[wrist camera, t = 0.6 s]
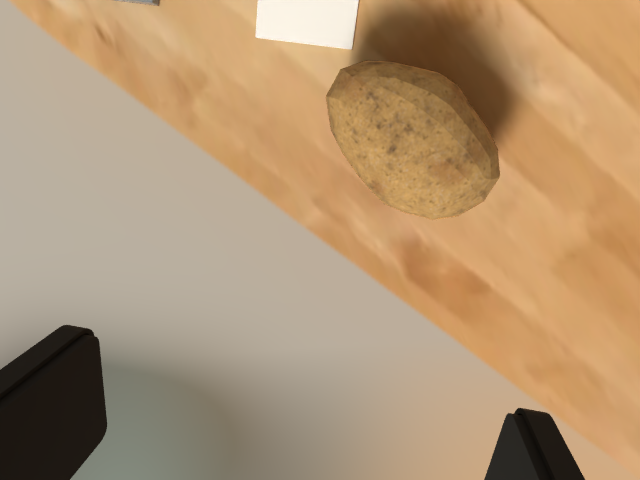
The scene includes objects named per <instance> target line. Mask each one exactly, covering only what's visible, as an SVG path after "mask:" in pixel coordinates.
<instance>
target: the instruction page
mask: <svg viewBox="0 0 640 480" xmlns="http://www.w3.org/2000/svg"><path fill="white" fill-rule="evenodd" d="M358 3H359V0H258V7H257V23H256V38H262V39H270V40H279V41H287V42H295V43H303V44H311V45H319V46H327V47H335V48H343V49H351V50H352V46H353V39H354V31H355V24H356V17H357V10H358Z"/></svg>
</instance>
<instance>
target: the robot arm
mask: <svg viewBox="0 0 640 480" xmlns="http://www.w3.org/2000/svg"><path fill="white" fill-rule="evenodd" d="M105 409H106V408H105V398H104V387H103V377H102V367H101V357H100V346H99V340H98V338H97V337H95V336H94V333H93V332H92V330H90V329H87V328H82V327H76V326H71V325H63V326H61V327H59V328H58V329H57V330H55V331H54V332H52V333H51V334H50V335H48V336H47V337H46V338H44V339H43V340H41V341H40V342H38V343H37V344H36V345H34V346H33V347H31V348H30V349H29V350H27V351H26V352H25V353H23V354H22V355H20V356H19V357H17V358H16V359H15V360H13V361H12V362H10V363H9V364H8V365H6V366H5V367H3V368H2V369H1V370H0V480H70V479H71V477H72V476H73V475H74V474H75V473H76V471H77V470H78V469H79V468H80V466H81V465H82V464H83V463H84V461H85V460H86V459H87V458H88V457H89V455H90V454H91V453H92V452H93V451H94V449H95V448H96V447H97V446H98V444H99V443H100V442H101V440H102V439H103V437H104V435H105V432H106V429H107V418H106V410H105ZM484 480H585V479H584V477H583V475H582V473H581V472H580V469H579V467H578V465H577V464H576V462H575V460H574V458H573V456H572V454H571V452H570V451H569V449H568V447H567V445H566V443H565V441H564V439H563V437H562V435H561V434H560V432H559V430H558V428H557V426H556V424H555V422H554V420H553V419H552V417H551V416H550V414H548V413H545V412H540V411H534V410H529V409H523V408H518V409H517V410H516V411H515V413H514V414H511V413H509V414H507V416H506V418H505V420H504V423H503V426H502V429H501V432H500V435H499V438H498V441H497V444H496V447H495V450H494V453H493V456H492V459H491V462H490V465H489V468H488V471H487V474H486V477H485V479H484Z"/></svg>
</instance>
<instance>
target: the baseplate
mask: <svg viewBox="0 0 640 480" xmlns="http://www.w3.org/2000/svg"><path fill="white" fill-rule="evenodd" d="M115 1H124V2H132V3H140V4H149V5H157V6H159V0H115Z"/></svg>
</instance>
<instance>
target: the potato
mask: <svg viewBox="0 0 640 480" xmlns="http://www.w3.org/2000/svg"><path fill="white" fill-rule="evenodd" d="M326 101H327V107H328V114H329V120H330V127H331V131H332V133H333V135H334V137H335V139H336V141H337V143H338V145H339V147H340V149H341V151H342V153H343V155H344V156H345V157H346V159H347V160H348V162H349V163H350V164H351V166H352V167H353V169H354V170H355V172H356V173H357V174H358V176H359V177H360V178H361V179H362V181H363V182H364V183H365V184H366V185H367V187H368V188H369V189H370V190H371V191H372V192H373V193H374V194H375V195H376V196H377V197H378V198H379V199H380V200H381V201H382V202H383V203H384V204H386V205H388V206H390V207H393V208H395V209H397V210H400V211H402V212H404V213H408V214H412V215H416V216H421V217H425V218H428V219H431V220H435V219H442V218H449V217H456V216H459V215H461V214H462V213H464V212H466V211H468V210H469V209H471V208H473V207H475V206H476V205H478V204H480V203H481V202H483V201H484V200H485V199H486V197H487V195H488V194H489V192H490V191H491V189H492V188H493V186H494V185H495V183H496V182H497V180H498V179H499V176H500V170H499V159H498V149H497V147H496V145H495V143H494V141H493V139H492V137H491V135H490V133H489V131H488V129H487V127H486V126H485V124H484V123H483V121H482V120H481V119H480V117H479V116H478V115H477V113H476V112H475V110H474V109H473V108H472V106H471V105H470V103H469V102H468V100H467V99H466V97H465V95H464V94H463V92H462V91H461V89H460V88H459V86H458V85H456V84H455V83H453V82H452V81H451V80H449V79H448V78H446V77H445V76H443V75H442V74H440V73H439V72H435V71H430V70H426V69H422V68H418V67H413V66H409V65H405V64H400V63H396V62H391V61H368V60H366V61H364V62H361V63H358V64H355V65H352V66H349V67H346V68H343V69H341V70H340V72H339V73H338V75H337V77H336V79H335V81H334V83H333V84H332V86H331V88H330V90H329V92H328V94H327V95H326Z"/></svg>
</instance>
